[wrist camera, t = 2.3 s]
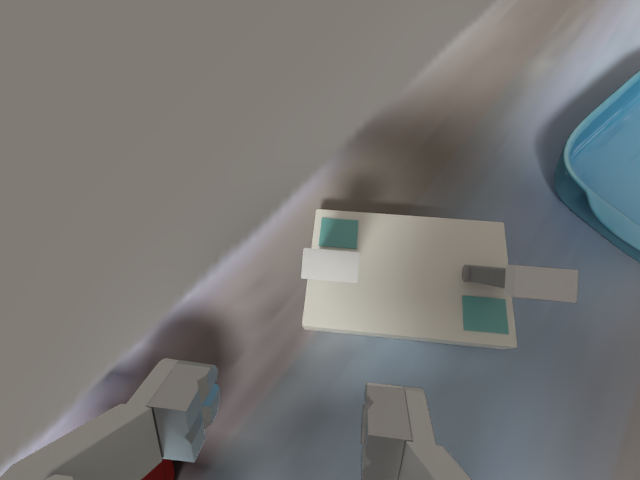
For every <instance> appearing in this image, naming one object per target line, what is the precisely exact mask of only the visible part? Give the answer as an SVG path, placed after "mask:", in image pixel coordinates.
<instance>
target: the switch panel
mask: <svg viewBox="0 0 640 480" xmlns="http://www.w3.org/2000/svg"><path fill="white" fill-rule="evenodd" d="M312 248H313V249H325V250H338V251H350V252H360V256H359V269H358V282H357V283H349V282H338V281H326V280H315V279H308V281H307V289H306V297H305V305H304V313H303V322H302V326H303V328H304V329H305V330H315V331H325V332H335V333H344V334H354V335H364V336H374V337H384V338H393V339H403V340H413V341H423V342H433V343H442V344H452V345H462V346H472V347H482V348H491V349H501V350H506V349H511V348H517V338H516V329H515V320H514V311H513V302H512V297H511V296H507V295H504V290H505V289H504V288H499V287H495V286H490V285H486V284H481V283H476V282H464V281H463V279H462V269H463V266H464V265H476V266H488V267H500V268H506V264H508V256H507V246H506V237H505V228H504V222H493V221H478V220H464V219H450V218H436V217H422V216H407V215H393V214H379V213H365V212H350V211H336V210H322V209H316V216H315V224H314V232H313V240H312Z"/></svg>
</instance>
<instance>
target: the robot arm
mask: <svg viewBox="0 0 640 480" xmlns="http://www.w3.org/2000/svg"><path fill="white" fill-rule="evenodd" d="M217 377H218V370H217V366H215V365H212V364H205V363H198V362H191V361H184V360H174V359H168V358H164V359H162V360H161V361H159V362H158V364H157V365H156V366H155V367H154V369H153V370H152V371H151V373H150V374H149V375H148V376H147V378H146V379H145V380H144V382H143V383H142V384H141V385H140V387H139V388H138V389H137V391H136V392H135V393H134V394H133V396H132V397H131V398H130V400H129V401H128V402H127V403H126V404H119V405H117V406H116V407H114V408H112V409H110V410H109V411H107V412H105V413H103V414H102V415H100V416H98V417H96V418H94V419H93V420H91V421H89V422H87V423H86V424H84V425H82V426H80V427H79V428H77V429H75V430H73V431H72V432H70V433H68V434H66V435H64V436H63V437H61V438H59V439H57V440H56V441H54V442H52V443H50V444H49V445H47V446H45V447H43V448H42V449H40V450H38V451H36V452H35V453H33V454H31V455H29V456H27V457H26V458H24V459H22V460H20V461H19V462H17V463H15V464H13V465H12V466H11V467H10V468H9V469H8V470H7V471H6V472H5V473H4V474H3V475H2V476H1V477H0V480H141V479H142V478H143V477H145V476H146V475H147V474H148V473H149V472H150V471H151V470H152V469H154V468H155V467H156V466H157V465H158V464H159V463H160V462H162V459H169V460H178V461H187V462H194V461H195V459H196V457H197V455H198V453H199V451H200V449H201V446H202V444H203V442H204V440H205V432H204V429H205V428H207V427H208V426H209V425H211V424H212V423H213V420H214V418H215V416H216V413H217V410H218V406H219V401H220V388H219V386H218V385H217V384H216V383H215V381H216V379H217ZM361 444H362V445H363V447H362V456H361V480H471V478H470V477H469V476H468V475H467V474H466V473H465V471H464V470H463V469H462V468H461V467H460V466H459V464H458V463H457V462H456V461H455V460H454V459H453V457H452V456H451V455H450V454H449V453H448V452H447V451H446V449H445V448H444V447H443V446H440V445H436V441H435V437H434V432H433V428H432V423H431V419H430V414H429V410H428V405H427V401H426V396H425V392H424V390H423V389H422V388H415V387H406V386H403V387H402V386H396V385H387V384H377V383H368V382H366V386H365V404H364V405H363V411H362V423H361Z"/></svg>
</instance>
